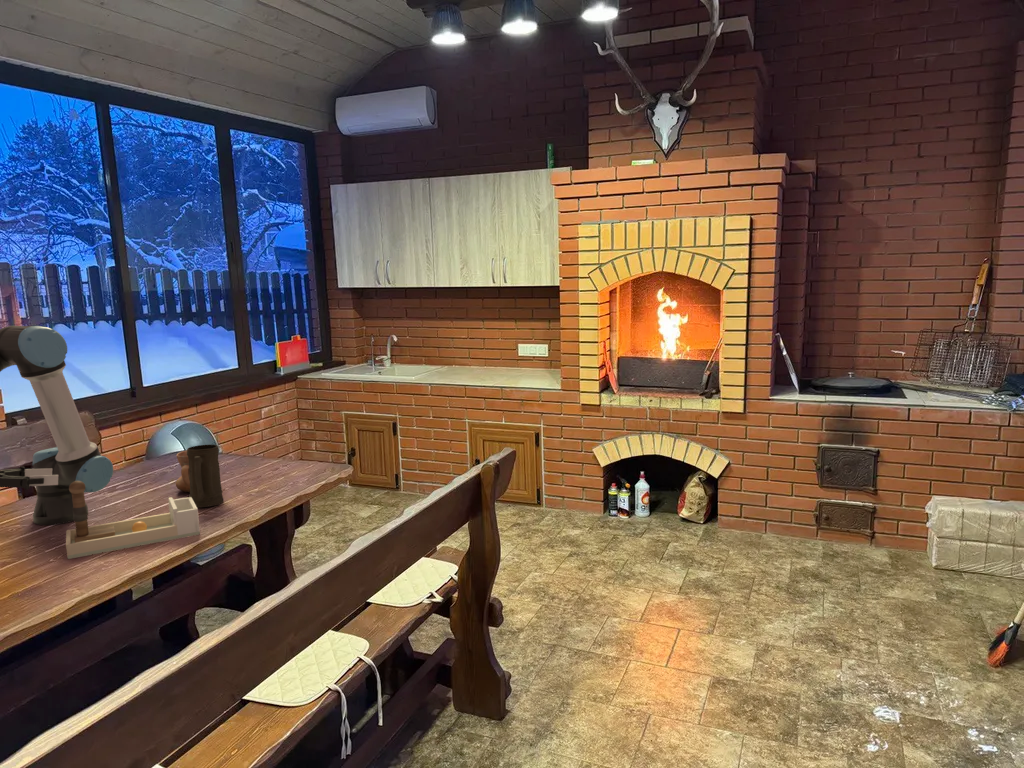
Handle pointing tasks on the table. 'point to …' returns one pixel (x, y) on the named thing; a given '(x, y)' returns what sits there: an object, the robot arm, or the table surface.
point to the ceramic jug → (183, 472)
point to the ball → (139, 526)
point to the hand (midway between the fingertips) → (55, 476)
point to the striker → (84, 516)
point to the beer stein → (204, 475)
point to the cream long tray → (159, 529)
